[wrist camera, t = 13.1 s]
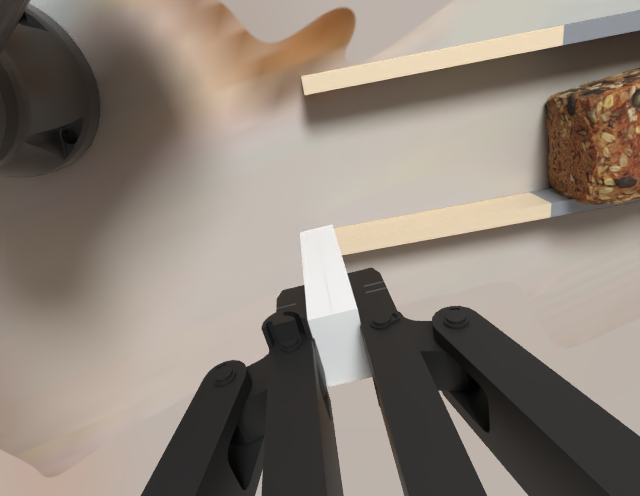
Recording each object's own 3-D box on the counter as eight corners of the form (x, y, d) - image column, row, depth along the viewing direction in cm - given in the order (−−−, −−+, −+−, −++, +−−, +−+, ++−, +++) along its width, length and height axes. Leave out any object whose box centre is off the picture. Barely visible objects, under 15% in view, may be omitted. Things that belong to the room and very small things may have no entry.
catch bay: (300, 76, 36) (301, 76, 32) (797, -21, 35) (856, -33, 31) (330, 241, 43) (333, 256, 39) (746, 165, 42) (789, 173, 38)
